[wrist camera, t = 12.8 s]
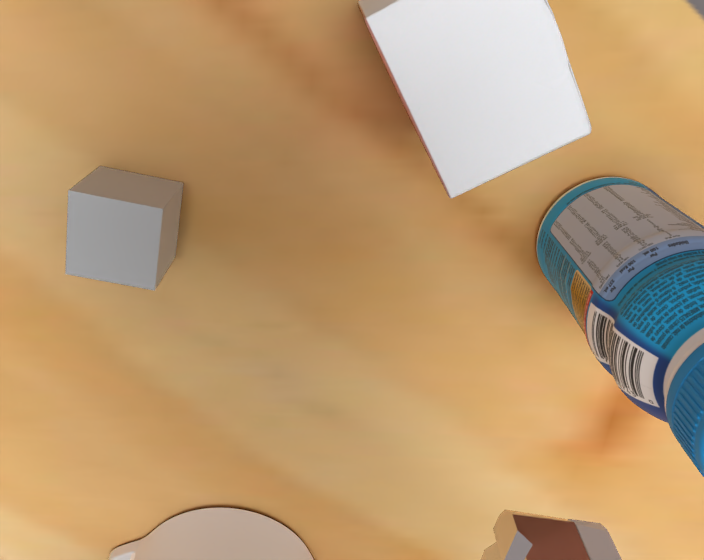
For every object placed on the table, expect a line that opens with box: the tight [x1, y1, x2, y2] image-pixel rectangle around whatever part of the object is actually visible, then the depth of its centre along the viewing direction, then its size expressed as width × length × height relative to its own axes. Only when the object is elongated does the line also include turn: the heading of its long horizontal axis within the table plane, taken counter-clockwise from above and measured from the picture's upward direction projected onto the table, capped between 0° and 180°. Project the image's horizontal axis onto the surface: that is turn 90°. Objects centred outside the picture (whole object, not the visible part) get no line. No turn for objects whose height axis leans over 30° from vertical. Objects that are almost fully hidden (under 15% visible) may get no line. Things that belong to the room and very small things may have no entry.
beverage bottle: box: [536, 177, 704, 477], centre depth 32 cm, size 8×8×20 cm
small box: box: [358, 0, 591, 198], centre depth 30 cm, size 8×6×13 cm
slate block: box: [66, 166, 184, 291], centre depth 38 cm, size 5×5×5 cm
